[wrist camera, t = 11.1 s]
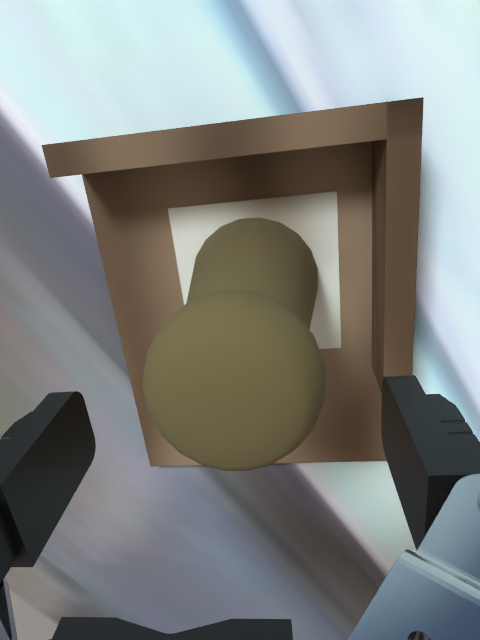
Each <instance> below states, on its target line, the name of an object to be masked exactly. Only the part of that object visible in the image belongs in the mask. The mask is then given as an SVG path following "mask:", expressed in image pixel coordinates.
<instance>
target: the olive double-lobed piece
mask: <svg viewBox="0 0 480 640" xmlns="http://www.w3.org/2000/svg"><path fill="white" fill-rule="evenodd" d="M317 290H318V268H317V265H316V262H315V259H314V257H313V254H312V251H311V249H310V248H309V247H308V245H307V244H306V243H305V242H304V240H303V239H302V238H301V237H300V235H299V234H298V233H296V232H295V231H293V230H292V229H290V228H288V227H287V226H285V225H284V224H282V223H280V222H276V221H273V220H269V219H265V218H261V217H259V218H244V219H238V220H236V221H233V222H231V223H228V224H226V225H223V226H221V227H220V228H218V229H217V230H216V231H215V232H214V233H213V234H212V235H210V236H209V237H208V238H207V239H206V240H205V242H204V243H203V245H202V247H201V249H200V250H199V252H198V254H197V255H196V259H195V264H194V269H193V273H192V278H191V283H190V288H189V293H188V298H187V303H186V304H185V305H184V306H183V307H181V308H180V309H179V310H178V311H176V312H175V313H174V314H173V315H172V316H170V317H169V318H168V319H167V320H166V321H165V322H164V324H163V325H162V327H161V328H160V330H159V332H158V333H157V335H156V337H155V338H154V340H153V342H152V344H151V345H150V347H149V349H148V350H147V356H146V362H145V368H144V374H143V383H142V386H143V391H144V397H145V402H146V407H147V410H148V412H149V414H150V416H151V417H152V419H153V421H154V423H155V424H156V426H157V428H158V430H159V431H160V433H161V435H162V437H163V438H164V439H165V440H166V441H167V442H168V443H169V444H171V445H172V446H173V447H174V448H175V449H176V450H177V451H178V452H179V453H180V454H182V455H184V456H186V457H188V458H190V459H191V460H193V461H195V462H197V463H199V464H201V465H204V466H208V467H212V468H216V469H220V470H224V471H249V470H252V469H256V468H260V467H264V466H268V465H271V464H273V463H275V462H276V461H278V460H280V459H281V458H283V457H285V456H286V455H288V454H290V453H291V452H293V451H294V450H295V449H296V448H298V447H299V446H300V444H301V443H302V442H303V441H304V440H305V439H306V438H307V436H308V435H309V434H310V433H311V432H312V431H313V429H314V428H315V425H316V422H317V420H318V417H319V414H320V411H321V409H322V406H323V403H324V400H325V396H326V370H325V365H324V360H323V357H322V355H321V352H320V350H319V347H318V344H317V342H316V339H315V337H314V335H313V334H312V333H311V331H310V325H311V320H312V315H313V310H314V305H315V300H316V295H317Z"/></svg>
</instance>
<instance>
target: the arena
mask: <svg viewBox="0 0 480 640" xmlns="http://www.w3.org/2000/svg"><path fill="white" fill-rule="evenodd" d="M422 121H423V98H415V99H407V100H399V101H391V102H383V103H375V104H367V105H359V106H351V107H343V108H335V109H327V110H319V111H311V112H303V113H295V114H287V115H279V116H271V117H263V118H255V119H247V120H239V121H231V122H223V123H215V124H207V125H199V126H191V127H183V128H176V129H168V130H160V131H152V132H144V133H136V134H128V135H120V136H112V137H104V138H96V139H88V140H80V141H72V142H64V143H56V144H48V145H42V148H43V152H44V156H45V160H46V164H47V167H48V171H49V175H50V178H54V177H62V176H71V175H80V174H82V177H83V181H84V186H85V190H86V194H87V198H88V203H89V207H90V211H91V215H92V219H93V224H94V228H95V232H96V236H97V241H98V245H99V249H100V253H101V258H102V262H103V266H104V270H105V275H106V279H107V283H108V287H109V292H110V296H111V300H112V304H113V309H114V313H115V317H116V321H117V326H118V330H119V334H120V338H121V343H122V347H123V351H124V355H125V360H126V364H127V368H128V372H129V376H130V381H131V385H132V389H133V393H134V398H135V402H136V406H137V410H138V415H139V419H140V423H141V427H142V432H143V436H144V440H145V444H146V449H147V453H148V457H149V461H150V466H191V465H201V464H199V463H197V462H195V461H193V460H191V459H190V458H188V457H186V456H184V455H182V454H180V453H179V452H178V451H177V450H176V449H175V448H174V447H173V446H172V445H171V444H169V443H168V442H167V441H166V440H165V439H164V438H163V437H162V435H161V433H160V431H159V430H158V428H157V426H156V424H155V423H154V421H153V419H152V417H151V416H150V414H149V412H148V410H147V407H146V402H145V397H144V391H143V386H142V383H143V374H144V368H145V362H146V356H147V350H148V349H149V347H150V345H151V344H152V342H153V340H154V338H155V337H156V335H157V333H158V332H159V330H160V328H161V327H162V325H163V324H164V322H165V321H166V320H167V319H168V318H169V317H170V316H172V315H173V314H174V313H175V312H176V311H178V310H179V309H180V308H181V307H183V306H184V305H185V304H186V303H187V298H188V293H189V288H190V283H191V278H192V273H193V269H194V264H195V259H196V255H197V254H198V252H199V250H200V249H201V247H202V245H203V243H204V242H205V240H206V239H207V238H208V237H209V236H210V235H212V234H213V233H214V232H215V231H216V230H217V229H218V228H220V227H221V226H223V225H226V224H228V223H231V222H233V221H236V220H238V219H244V218H259V217H261V218H265V219H269V220H273V221H276V222H280V223H282V224H284V225H285V226H287V227H288V228H290V229H292V230H293V231H295V232H296V233H298V234H299V235H300V237H301V238H302V239H303V240H304V242H305V243H306V244H307V245H308V247H309V248H310V249H311V251H312V254H313V257H314V259H315V262H316V265H317V268H318V290H317V295H316V300H315V305H314V310H313V315H312V320H311V325H310V331H311V333H312V334H313V335H314V337H315V339H316V342H317V344H318V347H319V350H320V352H321V355H322V357H323V360H324V365H325V370H326V396H325V400H324V403H323V406H322V409H321V411H320V414H319V417H318V420H317V422H316V425H315V428H314V429H313V431H312V432H311V433H310V434H309V435H308V436H307V438H306V439H305V440H304V441H303V442H302V443H301V444H300V446H299V447H298V448H296V449H295V450H294V451H293V452H291V453H290V454H288V455H286V456H285V457H283V458H281V459H280V460H278V461H276V462H275V463H311V462H351V461H387V459H386V456H385V453H384V449H383V444H382V436H381V403H382V380H383V377H387V376H407V375H412V365H413V341H414V316H415V292H416V267H417V243H418V218H419V194H420V169H421V145H422Z"/></svg>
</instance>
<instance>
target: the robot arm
mask: <svg viewBox="0 0 480 640" xmlns="http://www.w3.org/2000/svg"><path fill="white" fill-rule="evenodd" d="M381 436H382V444H383V449H384V453H385V456H386V459H387V462H388V465H389V468H390V471H391V474H392V477H393V481H394V484H395V487H396V490H397V493H398V496H399V499H400V502H401V505H402V508H403V511H404V514H405V517H406V520H407V523H408V526H409V529H410V532H411V535H412V538H413V541H414V544H415V547H416V550H417V551H416V552H415V553H414V552H412V551H410V550H405V551H403V552H402V553H401V555H400V556H399V557H398V559H397V560H396V562H395V563H394V565H393V567H392V568H391V570H390V572H389V573H388V575H387V577H386V578H385V580H384V582H383V583H382V585H381V586H380V588H379V590H378V591H377V593H376V595H375V596H374V598H373V600H372V601H371V603H370V604H369V606H368V608H367V609H366V611H365V613H364V614H363V616H362V618H361V619H360V621H359V623H358V624H357V626H356V627H355V629H354V631H353V632H352V634H351V636H350V637H349V639H348V640H480V442H479V441H478V439H477V438H476V436H475V435H473V431H472V430H471V428H470V427H469V425H468V424H467V423H465V419H464V418H463V416H462V414H461V413H460V411H459V410H458V408H457V407H456V405H454V404H453V403H451V402H450V401H448V400H447V399H446V398H444V397H443V396H441V395H440V394H427V395H426V394H425V392H424V390H423V389H422V387H421V385H420V383H419V382H418V380H417V378H416V377H415V376H414V375H407V376H387V377H383V380H382V403H381ZM94 455H95V437H94V433H93V430H92V426H91V423H90V419H89V416H88V412H87V408H86V405H85V401H84V398H83V396H82V394H81V393H80V392H77V391H76V392H56V393H50V394H48V395H47V396H46V397H45V398H44V399H43V401H42V402H41V403H40V404H39V405H38V406H37V407H36V409H35V410H34V411H33V412H30V413H28V414H27V415H26V416H24V417H23V418H21V419H20V420H18V421H17V422H15V423H14V424H13V425H12V426H11V427H10V428H9V429H8V430H7V431H6V432H5V434H4V435H3V436H2V439H0V640H17V633H16V628H15V621H14V615H13V609H12V603H11V597H10V591H9V586H8V583H7V580H6V578H5V576H6V574H7V573H8V571H9V569H10V568H11V567H33V566H34V564H35V562H36V561H37V559H38V557H39V555H40V554H41V552H42V550H43V548H44V546H45V545H46V543H47V541H48V539H49V538H50V536H51V534H52V532H53V530H54V529H55V527H56V525H57V523H58V522H59V520H60V518H61V516H62V514H63V513H64V511H65V509H66V507H67V506H68V504H69V502H70V500H71V498H72V497H73V495H74V493H75V491H76V490H77V488H78V486H79V484H80V483H81V481H82V479H83V477H84V475H85V474H86V472H87V470H88V468H89V467H90V465H91V463H92V461H93V458H94ZM50 640H293V634H292V623H291V619H229V620H226V621H222V622H218V623H214V624H210V625H206V626H202V627H198V628H194V629H190V630H186V631H183V632H179V633H174V634H166V633H162V632H159V631H156V630H153V629H149V628H146V627H143V626H140V625H137V624H134V623H131V622H128V621H124V620H121V619H118V618H97V617H62V618H61V620H60V622H59V624H58V626H57V629H56V631H55V633H54V636H53V638H52V639H50Z"/></svg>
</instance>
